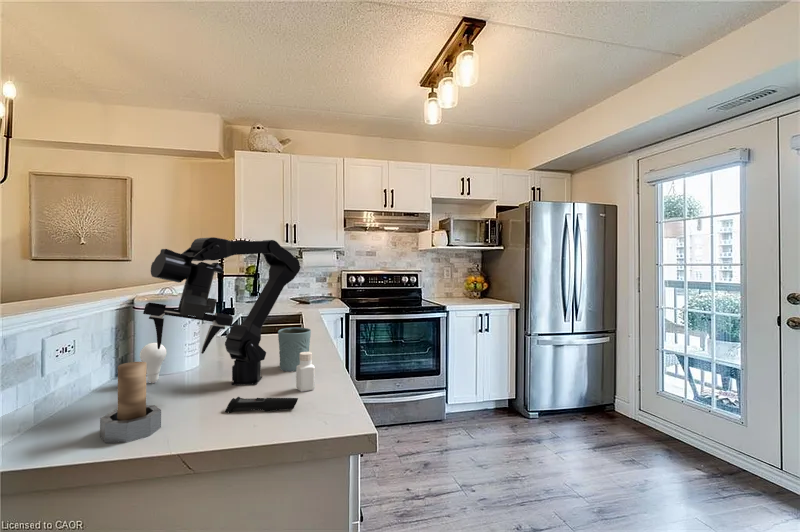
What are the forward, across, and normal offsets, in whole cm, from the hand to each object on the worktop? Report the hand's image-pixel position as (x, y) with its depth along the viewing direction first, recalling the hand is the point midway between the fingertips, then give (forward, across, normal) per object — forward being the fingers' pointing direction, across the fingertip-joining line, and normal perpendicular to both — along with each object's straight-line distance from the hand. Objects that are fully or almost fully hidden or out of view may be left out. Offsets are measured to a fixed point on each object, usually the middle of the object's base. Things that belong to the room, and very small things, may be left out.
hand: (180, 351), depth 90 cm
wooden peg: (+15, -5, -13) cm, 20 cm away
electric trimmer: (+10, +18, -13) cm, 25 cm away
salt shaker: (+6, +30, -5) cm, 31 cm away
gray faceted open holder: (+15, -5, -13) cm, 20 cm away
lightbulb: (+11, -4, +20) cm, 23 cm away
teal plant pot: (+3, +33, +17) cm, 37 cm away
